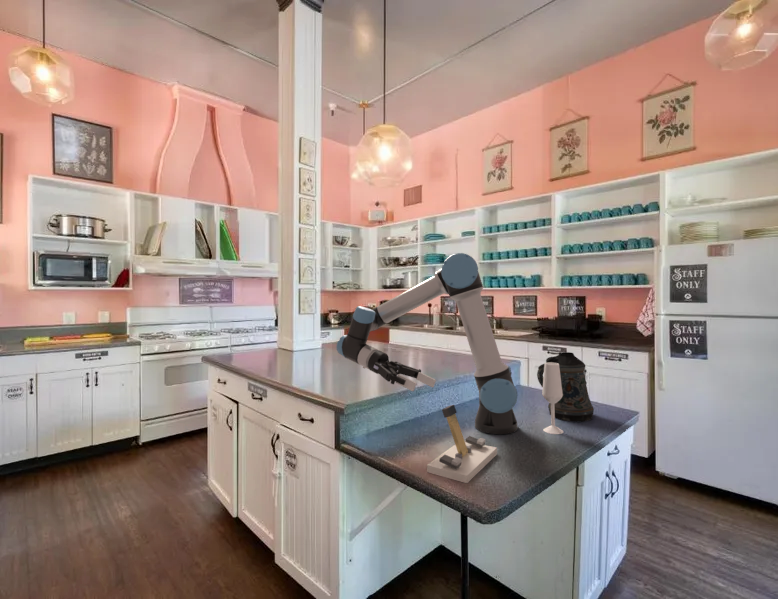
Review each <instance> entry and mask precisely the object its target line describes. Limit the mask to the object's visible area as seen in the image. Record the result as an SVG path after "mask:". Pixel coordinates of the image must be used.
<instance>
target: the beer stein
mask: <svg viewBox="0 0 778 599" xmlns="http://www.w3.org/2000/svg"><path fill="white" fill-rule="evenodd" d="M549 362H551V363H558V364H559V368H560V377H561V385H562V393H563V396H562V398H561V399H560V400H559V401H558V402H557V403H555V404H554V408H555V419H558V420H560V421H566V422H571V423H572V422H573V423H579V422H581V423H582V422H583V423H584V422H588V421H591V420H593V416H594V411H595V410H594V407H593V404H592V403H591V402H592V401H591V399H590V396H589V392H588V386H587V381H586V375H585V370H586V364H585V363H584V361H582V360H581V359H579V358H578V357H576V356H575V354H574V352H568V351H565V352H564V351H561V352H559V353H558V354H557V355H555V356H550V357H547V358H546V360H545V363H549ZM545 363H543V364H540V365H539V366H538V367H537V373H536V376H537V377H536V378H537V381H538V382H539V385H540V387H541V388H543V378H544V365H545ZM547 408H548V411H549V415H550V416H551V403H549V402H548V406H547Z"/></svg>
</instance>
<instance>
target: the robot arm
mask: <svg viewBox="0 0 778 599" xmlns="http://www.w3.org/2000/svg"><path fill="white" fill-rule="evenodd" d="M483 289H484V286H483V282H482V280H481V275H480V272H479V266H478V264H477V261H476V260H475V259H474V258H473V257H472V256H471V255H470V254H469V253H468V254H467V253H463V252H458V253H453V254H451V255H449V256H448V257H447V258H446V259H445V260H444V261H443V264H442V265H441V268H440V269H439V270H437V271H435V273H434V275H433V276H431V277H429V278H428V279H426V280H424V281H423V282H420V283H419V284H416V285H414V286H413V287H411V288H409V289H407V290H405V291H404V292H401V293H400V294H398V295H396V296H394V297H392V298H391V299H389V300H387V301H384V303H381V304H380V305H378V306H376V307H374V308H372V309H371V308H369V307H365V306H360V305H359V306H358V305H357V307H356V308H355V309H354V312H353V314H352V319H351V322H350V325H349V328H348V331H347V334H344V335H342V336H341V337H339V340H338V341H337V343H336V351H337V353H338V354H339V355H341V356H342V357H344V358H345V359H347V360H350V361H352V362H354V363H355V364H358V365H360V366H361V367H362V368H363V369H368V370H369V371H371V372H373V373H375V374H377V375H379V376H381V377H382V378H383V379H384V380H385V381H387V382H390V384H391V385H395V383H396V384H398V385H400V386H402V387H403V388H405V389H407V390H409V391H411V392H414V391H415V389H416V385H417V382H416V381H419V382H420V383H422V384H425V385H426V386H429V387H430V388H432V389H433V388H434V387H435V385H436V382H437V379H435V378H433V377H431V376H429V375H428V374H425V373H423V372H422V369H421V368H419V369H417V368H415V367H412V366H408V365H406V364H403V363H401V362H398V361H396V360H395V361H393V360H390V359H389V358H390V357H389V355H388V354H387V353H385V352H383V351H381V350H379V349H378V348H375V347H373V346H371V345H369V344H367V342H368V338H369V336H370V332H372V331H376V330H378V329H379V328H381V327H383V326H385V325H386V324H388V323H390V322H392V321H394V320H396V319H398V318H400V317H402V316H403V315H405V314H407V313H410V312H411V311H414V310H415V309H417V308H419V307H421V306H423V305H424V304H426V303H428V302H430V301H432V300H433V299H436V298H438V297H439V296H443V295H444V294H445V295H448V296H449V298H450V299H452V300H453V301H454V302H455V304H456V307H457V309H458V313H459V316H460V319H461V323H462V326H463V330H464V333H465V336H466V340H467V342H468V345H469V349H470V352H471V355H472V358H473V361H474V365H475V368H476V369H475V371H474V373H473V377H474V380H475V384H476V387H477V390H478V401H479V402H478V409H477V412H476V415H475V418H474V427H475V429H477V430H478V431H480V432H481V433H482V432H483V433H485V434H492V435H493V434H494V435H508V434H513V433H515V432H517V430H518V421H517V418H516V415H515V412H514V410H513V408H515V405H517V404H516V403H517V401H518V396H519V394H518V390H517V387H516V385H515V384H514V381H513V377H512V374H513V373H512V369H511V366H509V365H507V364H506V363H504V362H502V359H501V354H500V352H499V349H498V346H497V342H496V340H495V335H494V333H493V329H492V326H491V323H490V320H489V317H488V313H487V311H486V307H485V304H484V301H483V298H482V295H481V293H482V291H483ZM408 377H410V378H413V379H416V381H414V380H412V379H410V378H408Z"/></svg>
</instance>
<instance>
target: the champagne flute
mask: <svg viewBox="0 0 778 599" xmlns="http://www.w3.org/2000/svg"><path fill="white" fill-rule="evenodd" d="M544 364H545V365H544V373H543V387H542V392H541V393H542V396H543V398H544V400H546V401H547V403H548V404H549V403H551V415H550V418H551V419H550V421H551V422H550V423H551V424H550V425H549V426H546V427H544V428H543V432H545V433H547V434H549V435H550V434H551V435H561V434H563V433H564V430H563V429H561V428H559V427H558V426H556V420H555V419H556V418H555V408H554V404H555V403H557V402H558V401H559V400H560V399H561V398H562V396H563V393H562V385H561V377H560V368H559V364H558V363H551V362H549V363H546V362H544Z"/></svg>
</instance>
